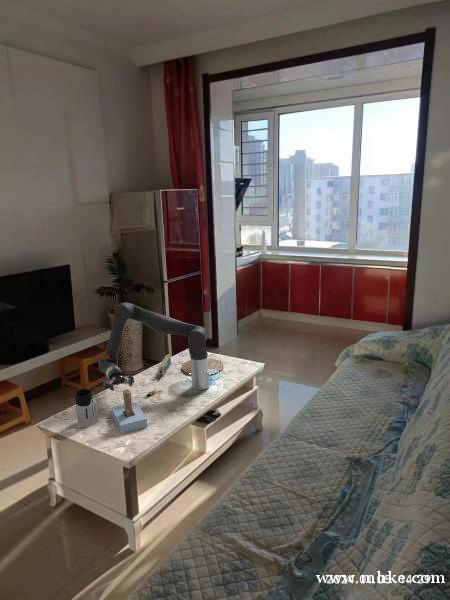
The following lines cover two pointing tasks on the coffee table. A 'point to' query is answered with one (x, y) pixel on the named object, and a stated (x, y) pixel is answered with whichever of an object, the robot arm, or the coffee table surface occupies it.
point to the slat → (127, 403)
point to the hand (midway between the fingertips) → (122, 386)
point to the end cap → (129, 418)
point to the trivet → (211, 365)
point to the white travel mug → (85, 408)
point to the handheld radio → (164, 366)
